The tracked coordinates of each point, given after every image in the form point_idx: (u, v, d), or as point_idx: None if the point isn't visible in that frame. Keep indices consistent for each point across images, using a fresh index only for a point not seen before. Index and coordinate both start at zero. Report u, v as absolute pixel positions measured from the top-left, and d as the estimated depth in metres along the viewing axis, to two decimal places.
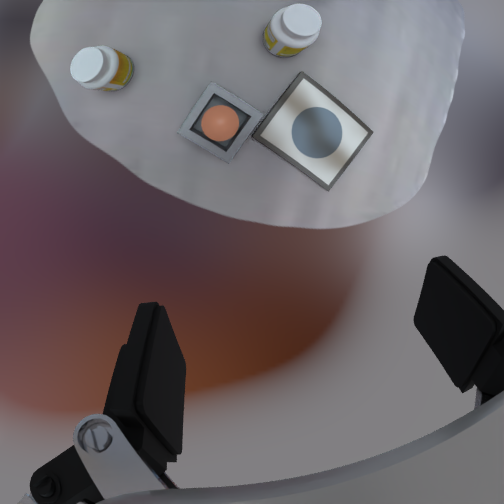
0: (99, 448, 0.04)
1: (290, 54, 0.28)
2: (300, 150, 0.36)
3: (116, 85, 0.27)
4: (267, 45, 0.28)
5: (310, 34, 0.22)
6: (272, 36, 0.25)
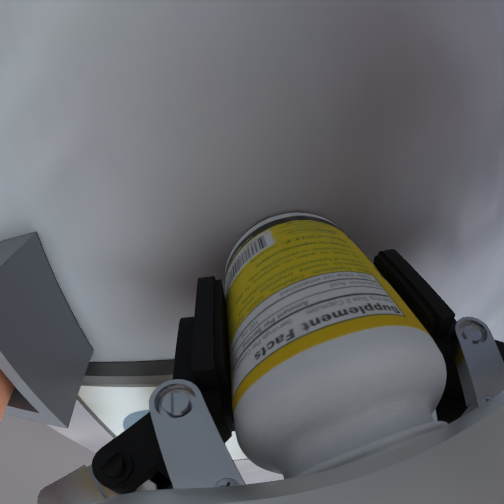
0: (174, 414, 0.05)
1: None
2: None
3: None
4: (227, 283, 0.10)
5: None
6: (238, 373, 0.06)
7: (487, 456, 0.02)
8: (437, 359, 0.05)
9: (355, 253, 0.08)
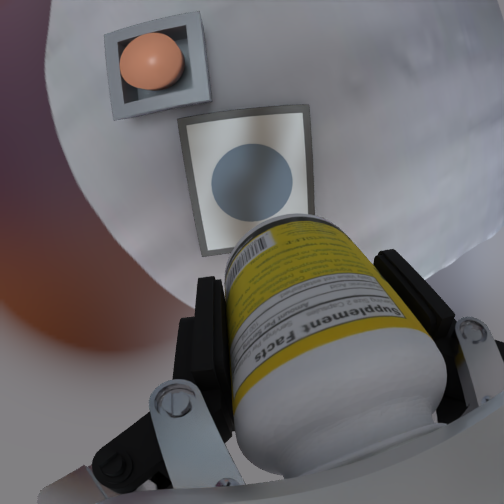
0: (174, 414, 0.05)
1: None
2: (213, 184, 0.24)
3: None
4: (227, 284, 0.10)
5: None
6: (238, 375, 0.06)
7: (487, 456, 0.02)
8: (437, 361, 0.05)
9: (355, 254, 0.08)
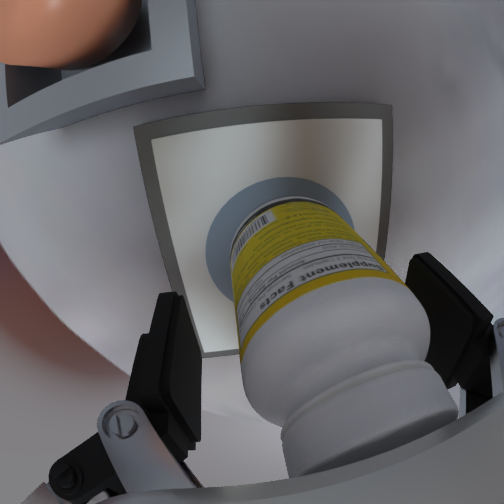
0: (123, 435, 0.05)
1: None
2: (209, 255, 0.13)
3: None
4: (233, 258, 0.11)
5: None
6: (245, 325, 0.07)
7: (487, 456, 0.02)
8: (418, 309, 0.06)
9: (346, 227, 0.09)
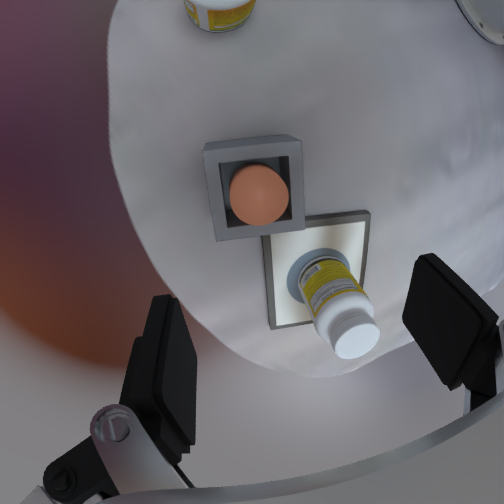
0: (116, 439, 0.05)
1: None
2: (288, 279, 0.29)
3: (206, 21, 0.16)
4: (303, 282, 0.27)
5: (344, 358, 0.22)
6: (316, 305, 0.24)
7: (487, 456, 0.02)
8: (367, 300, 0.22)
9: (346, 272, 0.26)
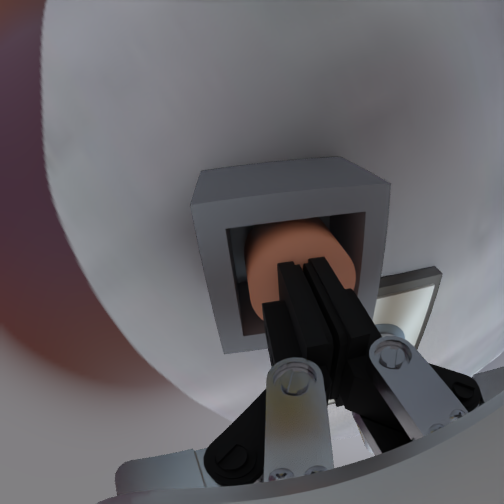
0: (288, 391, 0.06)
1: None
2: None
3: None
4: None
5: None
6: None
7: (487, 456, 0.02)
8: None
9: None
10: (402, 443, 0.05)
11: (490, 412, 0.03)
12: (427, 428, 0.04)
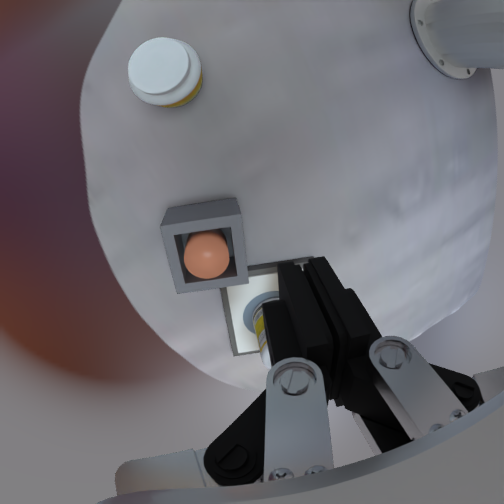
0: (288, 391, 0.06)
1: None
2: (244, 316, 0.34)
3: None
4: (255, 320, 0.32)
5: None
6: (261, 343, 0.29)
7: (487, 456, 0.02)
8: None
9: None
10: (402, 444, 0.05)
11: (490, 412, 0.03)
12: (427, 428, 0.04)
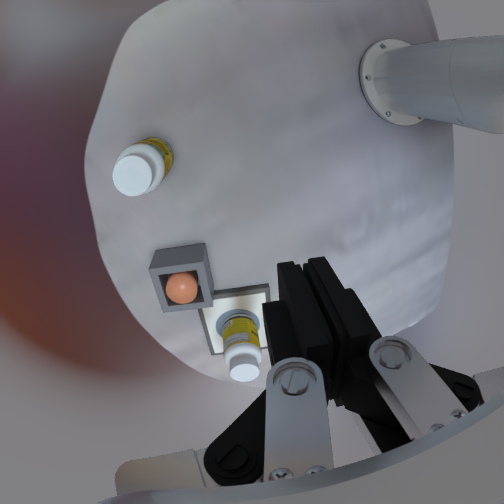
0: (288, 391, 0.06)
1: None
2: (216, 327, 0.44)
3: None
4: (222, 330, 0.43)
5: None
6: (224, 348, 0.39)
7: (487, 456, 0.02)
8: (253, 348, 0.38)
9: (247, 327, 0.41)
10: (402, 443, 0.05)
11: (490, 412, 0.03)
12: (427, 428, 0.04)
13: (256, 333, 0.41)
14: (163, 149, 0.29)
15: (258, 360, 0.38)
